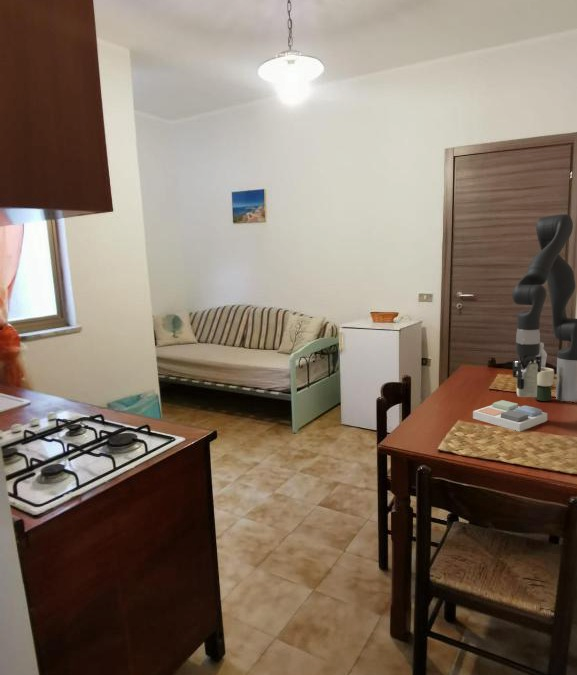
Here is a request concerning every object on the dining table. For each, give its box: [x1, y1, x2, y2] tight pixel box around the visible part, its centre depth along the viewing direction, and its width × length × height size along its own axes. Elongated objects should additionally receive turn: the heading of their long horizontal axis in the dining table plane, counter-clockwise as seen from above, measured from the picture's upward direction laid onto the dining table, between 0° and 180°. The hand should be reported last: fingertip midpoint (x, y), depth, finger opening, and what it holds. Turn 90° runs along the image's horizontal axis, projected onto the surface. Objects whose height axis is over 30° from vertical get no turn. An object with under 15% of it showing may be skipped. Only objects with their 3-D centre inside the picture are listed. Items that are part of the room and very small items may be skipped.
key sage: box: [492, 399, 519, 411], centre depth 180 cm, size 6×6×2 cm
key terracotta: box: [479, 408, 504, 416], centre depth 176 cm, size 6×6×2 cm
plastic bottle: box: [537, 342, 548, 386], centre depth 213 cm, size 6×7×20 cm
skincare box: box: [516, 363, 538, 398], centre depth 172 cm, size 6×4×12 cm
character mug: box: [533, 367, 559, 402], centre depth 195 cm, size 11×7×13 cm, turn 57°
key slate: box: [515, 405, 543, 417], centre depth 173 cm, size 6×6×2 cm
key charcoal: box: [501, 410, 528, 422], centre depth 168 cm, size 6×6×2 cm
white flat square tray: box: [472, 404, 548, 433], centre depth 175 cm, size 17×18×3 cm
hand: (526, 386), depth 172 cm, fingers closed on skincare box, 7 cm apart
